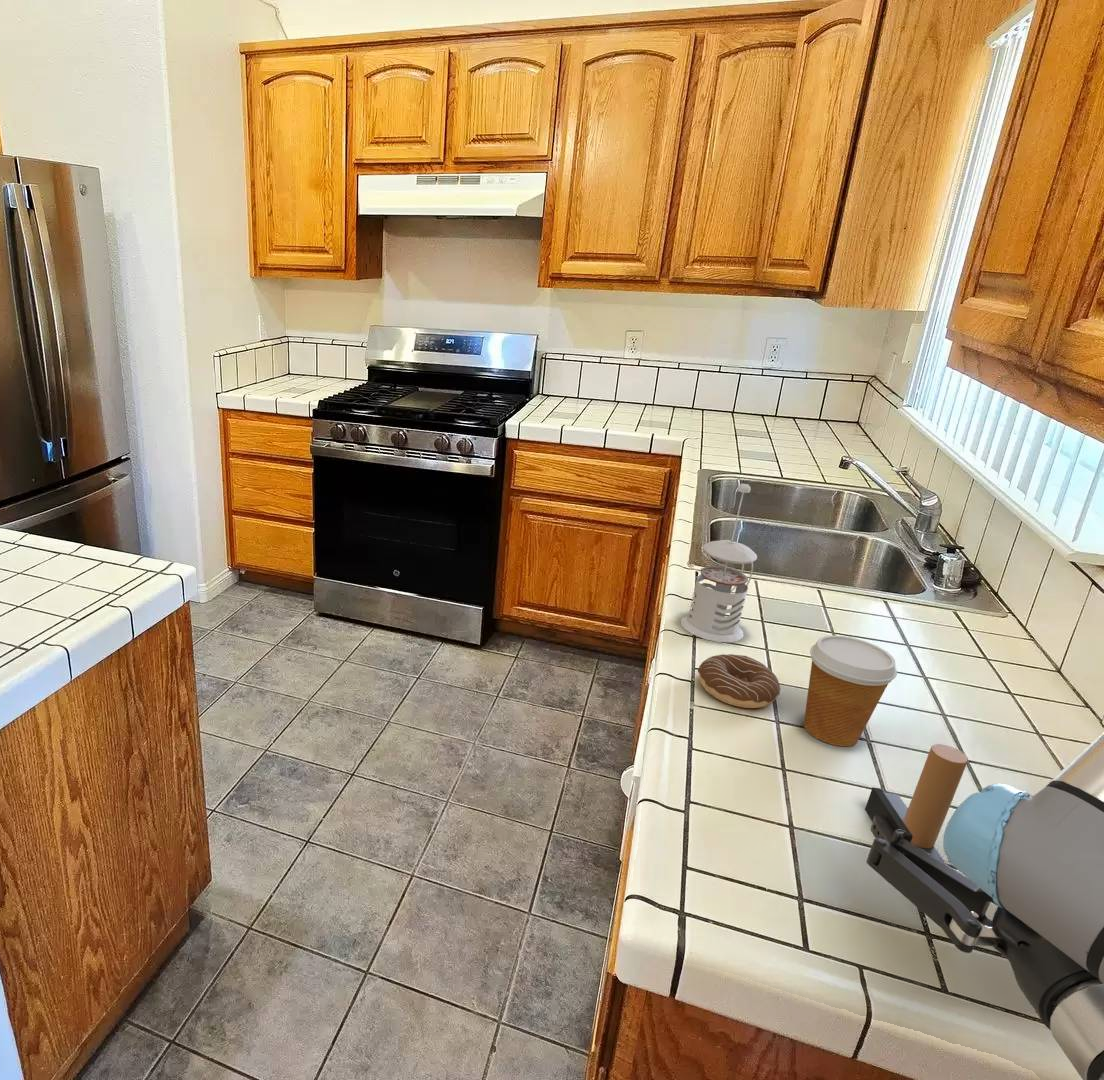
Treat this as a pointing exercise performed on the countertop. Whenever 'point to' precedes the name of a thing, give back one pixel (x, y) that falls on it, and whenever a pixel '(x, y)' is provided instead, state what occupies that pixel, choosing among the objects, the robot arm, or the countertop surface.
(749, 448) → the countertop surface
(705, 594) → the french press
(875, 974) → the countertop surface
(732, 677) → the donut
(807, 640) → the countertop surface
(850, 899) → the countertop surface
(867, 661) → the disposable coffee cup
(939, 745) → the squeegee
